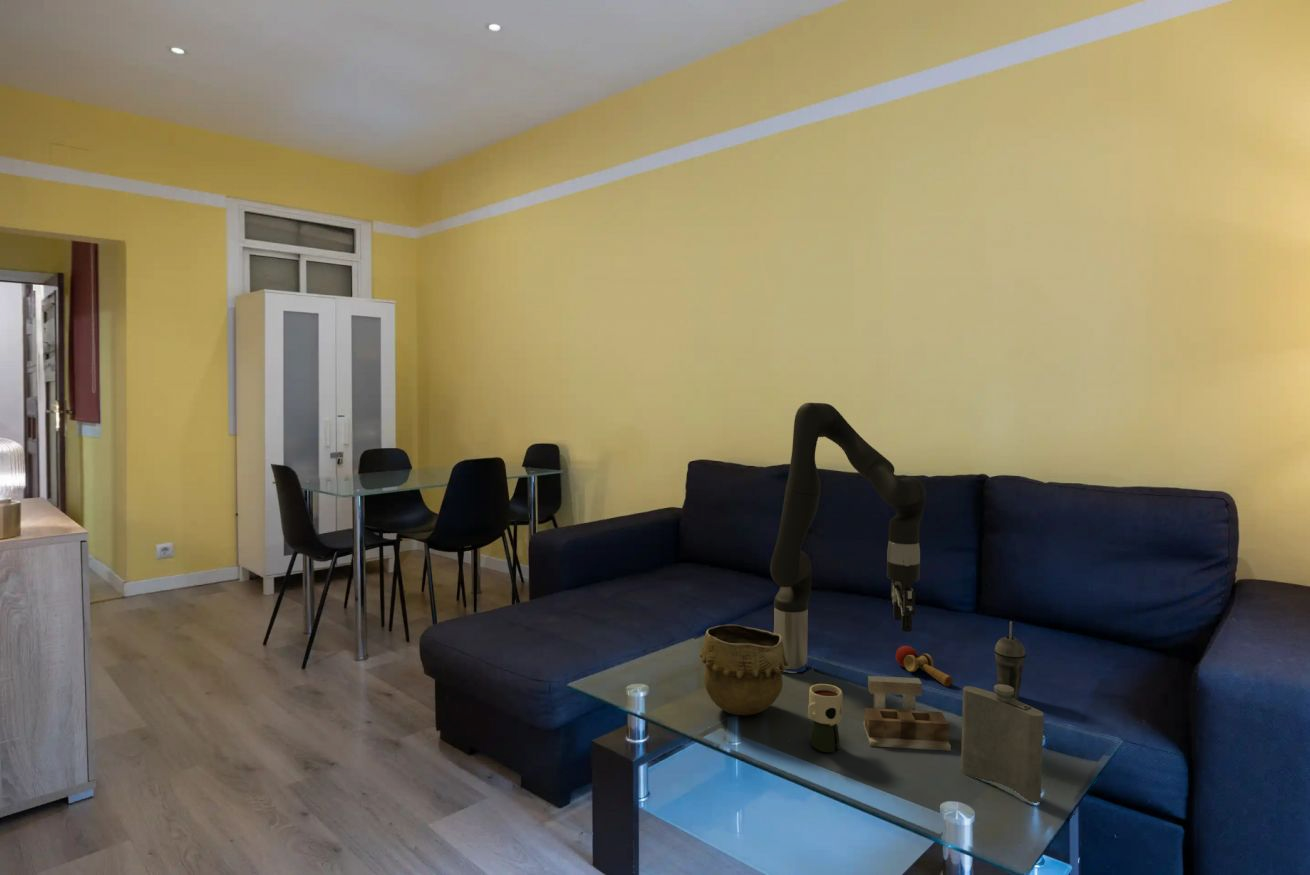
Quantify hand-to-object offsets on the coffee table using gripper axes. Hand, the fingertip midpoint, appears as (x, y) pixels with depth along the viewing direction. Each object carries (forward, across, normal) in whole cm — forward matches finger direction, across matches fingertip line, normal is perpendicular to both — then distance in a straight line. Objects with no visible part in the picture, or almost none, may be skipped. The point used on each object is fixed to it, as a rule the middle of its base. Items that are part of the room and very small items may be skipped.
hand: (902, 625), depth 177 cm
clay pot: (+21, +5, -39) cm, 44 cm away
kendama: (+21, -22, +11) cm, 33 cm away
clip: (+21, +2, -2) cm, 21 cm away
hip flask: (+21, +34, +12) cm, 41 cm away
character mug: (+21, +22, -21) cm, 37 cm away
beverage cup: (+21, -9, +29) cm, 37 cm away
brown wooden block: (+21, +15, -2) cm, 26 cm away
